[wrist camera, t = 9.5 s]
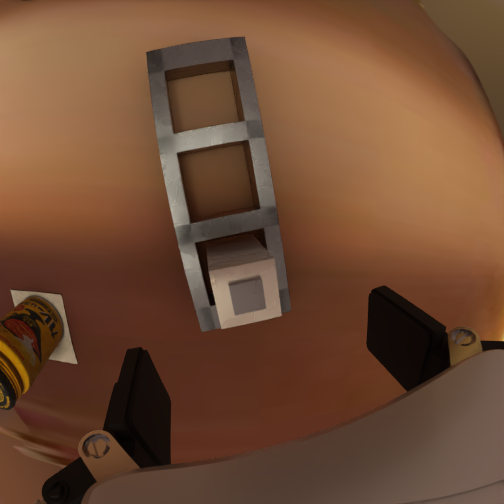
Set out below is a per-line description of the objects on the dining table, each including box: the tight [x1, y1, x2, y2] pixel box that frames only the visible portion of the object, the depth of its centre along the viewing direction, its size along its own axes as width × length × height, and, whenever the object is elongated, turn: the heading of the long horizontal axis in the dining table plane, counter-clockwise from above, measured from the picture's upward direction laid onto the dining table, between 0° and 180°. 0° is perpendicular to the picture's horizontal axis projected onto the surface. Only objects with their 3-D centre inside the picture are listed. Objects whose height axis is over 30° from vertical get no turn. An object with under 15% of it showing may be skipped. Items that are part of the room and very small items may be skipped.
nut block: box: [206, 234, 282, 329], centre depth 21 cm, size 4×4×8 cm
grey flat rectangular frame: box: [146, 37, 291, 332], centre depth 22 cm, size 24×8×2 cm, turn 10°
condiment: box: [0, 290, 78, 410], centre depth 17 cm, size 7×8×12 cm
